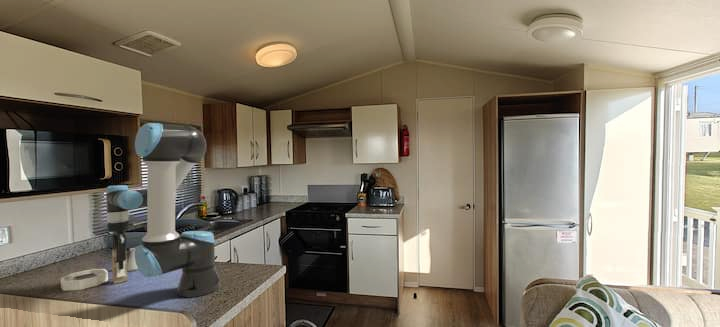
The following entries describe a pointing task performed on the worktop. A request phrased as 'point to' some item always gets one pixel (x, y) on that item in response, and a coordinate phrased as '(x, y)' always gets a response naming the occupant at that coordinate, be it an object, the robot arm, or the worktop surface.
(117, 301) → the worktop surface
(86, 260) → the worktop surface
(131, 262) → the flask
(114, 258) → the wooden block
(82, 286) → the white octagonal tray
